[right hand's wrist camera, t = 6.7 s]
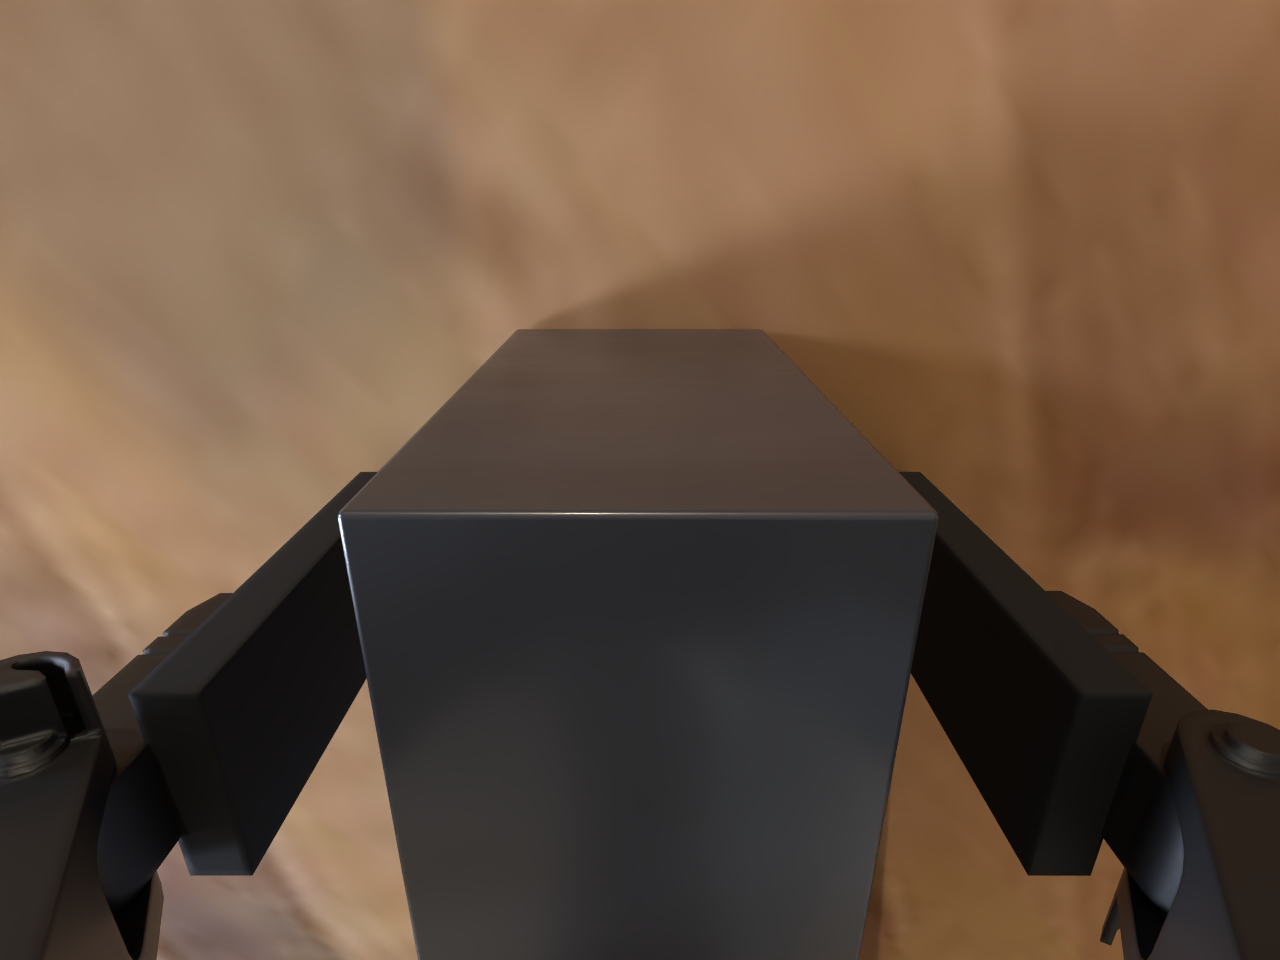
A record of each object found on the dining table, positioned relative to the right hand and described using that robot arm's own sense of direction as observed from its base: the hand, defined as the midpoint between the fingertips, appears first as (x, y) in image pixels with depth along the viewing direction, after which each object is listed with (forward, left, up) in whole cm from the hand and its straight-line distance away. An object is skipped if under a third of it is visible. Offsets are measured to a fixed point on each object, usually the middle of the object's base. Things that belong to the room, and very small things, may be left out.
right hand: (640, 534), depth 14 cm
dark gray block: (0, -11, 0) cm, 11 cm away
